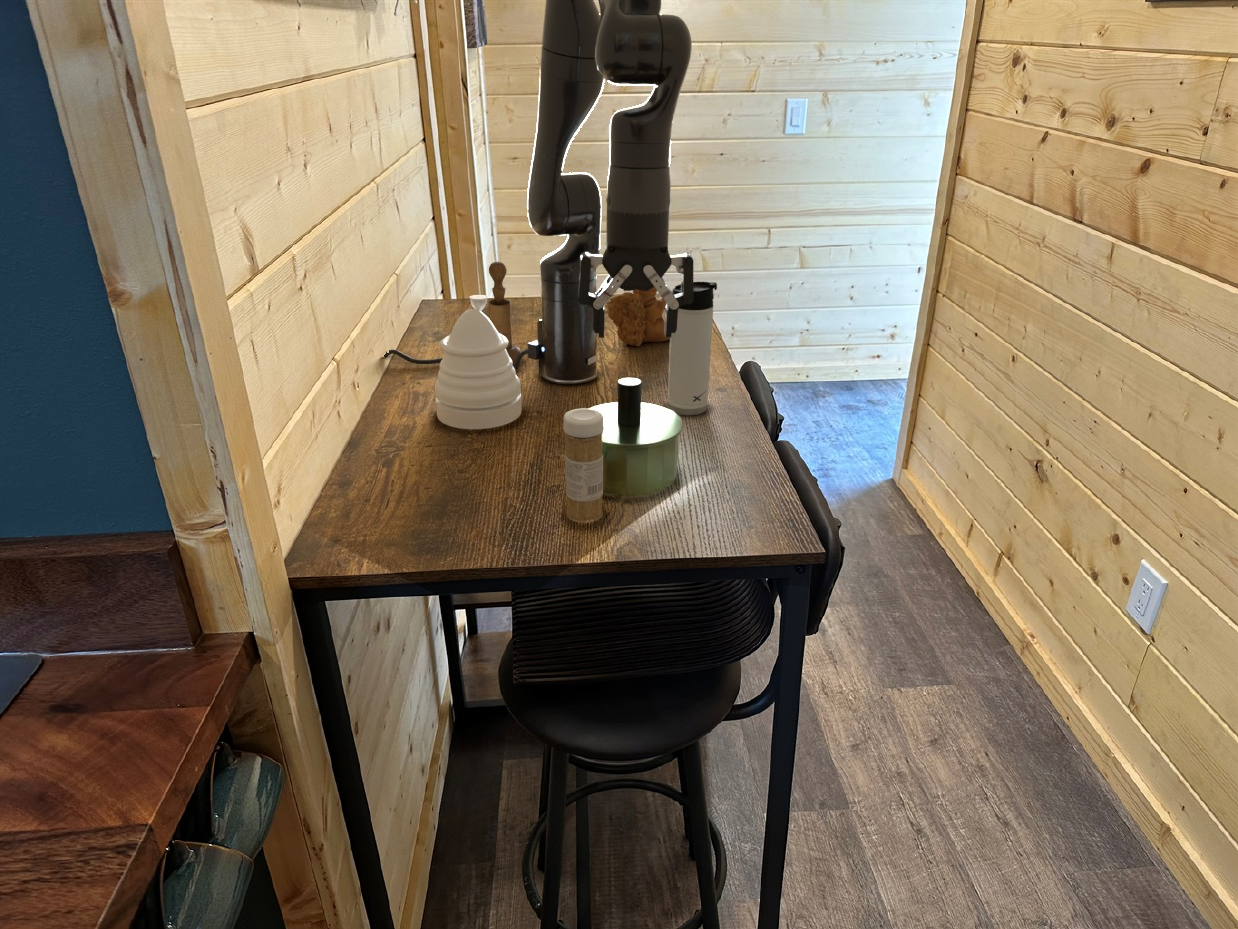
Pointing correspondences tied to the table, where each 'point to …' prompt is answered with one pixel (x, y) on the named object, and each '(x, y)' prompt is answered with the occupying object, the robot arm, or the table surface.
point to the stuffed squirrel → (638, 316)
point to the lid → (636, 419)
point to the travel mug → (691, 352)
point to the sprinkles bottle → (584, 464)
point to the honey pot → (476, 374)
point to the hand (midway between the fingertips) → (634, 335)
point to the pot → (639, 469)
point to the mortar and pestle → (501, 308)
